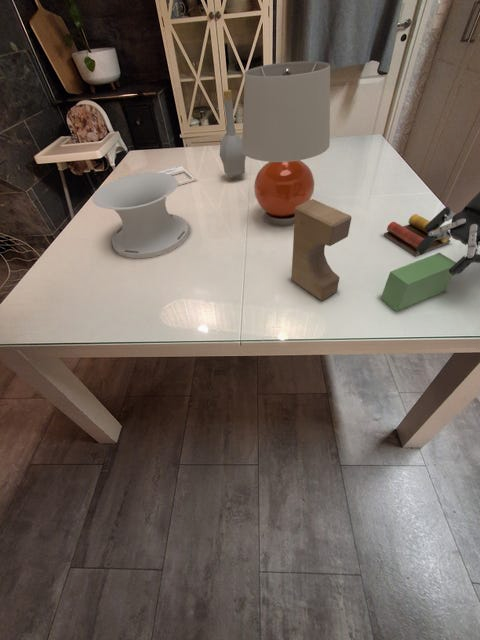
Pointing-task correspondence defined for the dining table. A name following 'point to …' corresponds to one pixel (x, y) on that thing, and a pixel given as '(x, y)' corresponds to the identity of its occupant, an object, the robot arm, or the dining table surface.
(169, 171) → the photo frame
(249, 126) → the lamp
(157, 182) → the vase
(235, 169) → the bottle
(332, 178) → the dining table surface
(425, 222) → the rod rack
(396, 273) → the bar
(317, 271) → the decorative block
